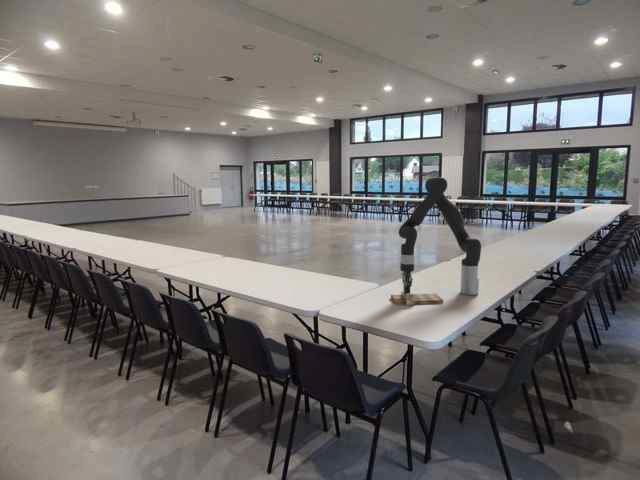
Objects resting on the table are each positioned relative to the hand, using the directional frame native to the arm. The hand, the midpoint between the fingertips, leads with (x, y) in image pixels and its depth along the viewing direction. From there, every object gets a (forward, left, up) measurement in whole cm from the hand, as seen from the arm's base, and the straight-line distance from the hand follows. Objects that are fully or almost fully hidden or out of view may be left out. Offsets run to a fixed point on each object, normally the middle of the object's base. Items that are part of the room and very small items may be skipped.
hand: (406, 292), depth 226 cm
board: (-6, 0, -5) cm, 7 cm away
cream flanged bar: (0, 0, -5) cm, 5 cm away
